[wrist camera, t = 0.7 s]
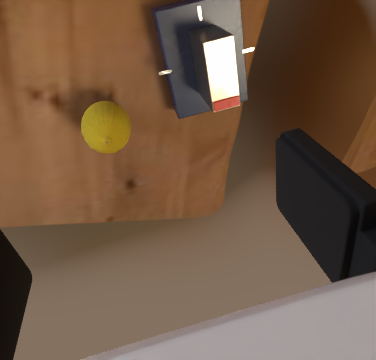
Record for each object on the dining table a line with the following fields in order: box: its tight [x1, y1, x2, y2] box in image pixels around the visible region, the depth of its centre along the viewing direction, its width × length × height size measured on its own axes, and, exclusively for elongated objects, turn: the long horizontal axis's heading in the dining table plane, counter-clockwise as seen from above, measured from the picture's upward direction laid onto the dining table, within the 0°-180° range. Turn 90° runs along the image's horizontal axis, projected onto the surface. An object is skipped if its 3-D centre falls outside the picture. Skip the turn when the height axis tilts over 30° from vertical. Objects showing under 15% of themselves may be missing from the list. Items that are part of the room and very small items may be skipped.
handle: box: [189, 25, 240, 113], centre depth 33 cm, size 7×3×6 cm, turn 11°
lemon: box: [81, 101, 131, 154], centre depth 36 cm, size 6×6×8 cm
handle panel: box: [151, 0, 254, 119], centre depth 37 cm, size 12×11×3 cm
